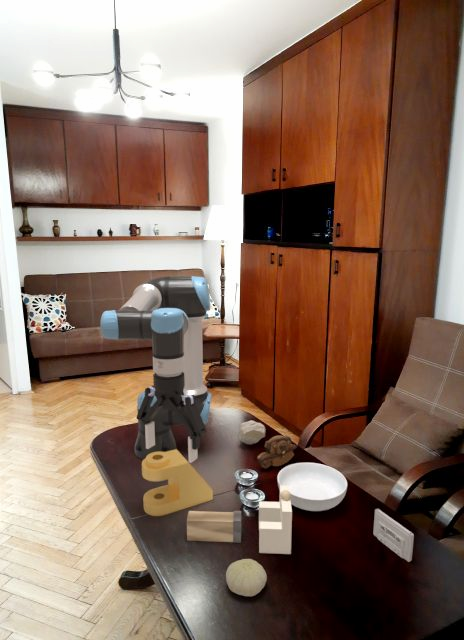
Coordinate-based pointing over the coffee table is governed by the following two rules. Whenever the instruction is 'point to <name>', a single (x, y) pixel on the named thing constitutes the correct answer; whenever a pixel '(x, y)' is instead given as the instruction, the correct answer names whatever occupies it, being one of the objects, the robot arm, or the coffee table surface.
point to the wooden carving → (277, 451)
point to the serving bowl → (313, 485)
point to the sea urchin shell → (246, 577)
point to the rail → (214, 526)
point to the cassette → (393, 535)
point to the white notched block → (276, 524)
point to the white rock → (251, 432)
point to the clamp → (172, 484)
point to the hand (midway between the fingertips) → (171, 453)
